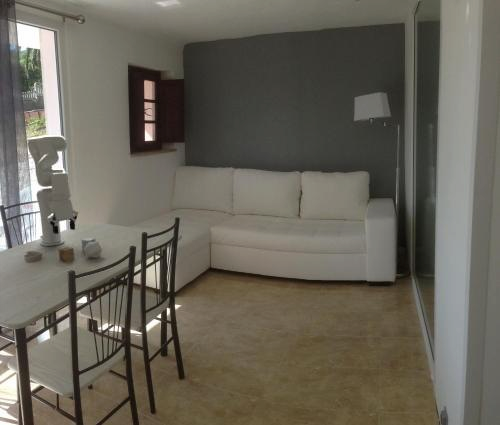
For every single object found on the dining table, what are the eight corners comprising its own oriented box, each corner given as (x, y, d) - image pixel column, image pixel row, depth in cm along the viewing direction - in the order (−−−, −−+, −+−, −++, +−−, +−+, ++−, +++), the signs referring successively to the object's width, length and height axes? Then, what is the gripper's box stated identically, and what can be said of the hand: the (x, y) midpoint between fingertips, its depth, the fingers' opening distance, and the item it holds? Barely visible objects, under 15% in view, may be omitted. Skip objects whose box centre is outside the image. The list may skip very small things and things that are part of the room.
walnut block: (59, 260, 242) (58, 249, 241) (68, 257, 246) (66, 246, 245) (65, 262, 239) (64, 250, 238) (74, 259, 243) (73, 248, 242)
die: (92, 262, 241) (102, 245, 242) (77, 253, 241) (88, 236, 243) (97, 262, 249) (107, 246, 250) (83, 254, 249) (93, 238, 251)
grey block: (82, 250, 258) (81, 240, 257) (88, 248, 263) (87, 237, 262) (90, 251, 257) (89, 240, 256) (96, 248, 262) (95, 238, 260)
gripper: (71, 194, 245) (74, 227, 248) (40, 199, 231) (44, 234, 234) (80, 195, 241) (83, 228, 244) (50, 200, 227) (54, 236, 230)
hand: (64, 231), depth 239 cm, fingers open, 9 cm apart
